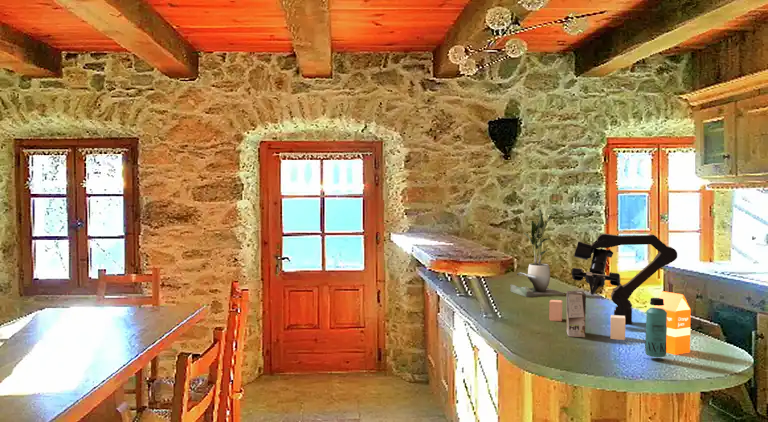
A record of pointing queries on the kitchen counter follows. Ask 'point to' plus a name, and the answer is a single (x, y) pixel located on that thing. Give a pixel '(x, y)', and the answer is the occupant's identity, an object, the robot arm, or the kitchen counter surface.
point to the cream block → (617, 327)
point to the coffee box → (576, 313)
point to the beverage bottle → (656, 329)
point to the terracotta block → (555, 310)
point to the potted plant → (537, 266)
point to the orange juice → (676, 322)
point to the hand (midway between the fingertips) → (591, 294)
